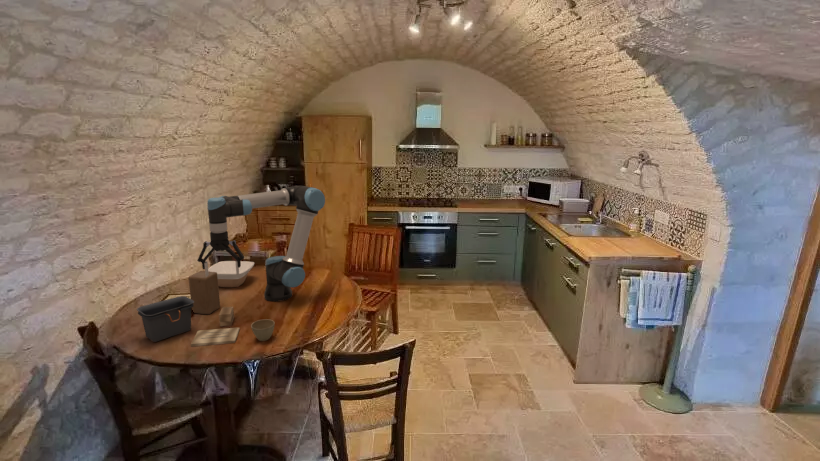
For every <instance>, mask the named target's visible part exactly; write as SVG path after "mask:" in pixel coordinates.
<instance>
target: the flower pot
mask: <svg viewBox="0 0 820 461" xmlns="http://www.w3.org/2000/svg"><path fill="white" fill-rule="evenodd" d="M250 327H251V330H252V332H253V334H254V336H255V337H256V339H257V340H258V341H260V342H265V341H268V340H270V338H271V337H272V335H273V333H274V330H275V321H274V320H272V319H270V318H269V319H267V318H266V319H258V320H256V321H254V322H252V323H251V325H250Z"/></svg>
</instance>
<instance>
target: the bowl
mask: <svg viewBox="0 0 820 461" xmlns="http://www.w3.org/2000/svg"><path fill="white" fill-rule="evenodd" d="M235 262H236V260H224V261H219V262H216V263H214V264H212V265H211V266H210V267H209V266H208V271H209V272H217V277H218V288H219V287H220V288H238V287H240V286H241V285H243V284H244V283H245V281H246V279H247V276H248V274H249V272H250V271H251V270H252V268H253V267H254V266H255V262H254V261H246V260H243V261H242V260H241V266H240V267H239V274H238V275H236V263H235Z"/></svg>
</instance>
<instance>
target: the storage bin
mask: <svg viewBox="0 0 820 461" xmlns="http://www.w3.org/2000/svg"><path fill="white" fill-rule="evenodd" d="M193 303H194V301H193V300H191V297H188V296H184V295H182V296H176V297H171V298H169V299H165V300H164V299H163V300H161V301H160V300H159V301H157V302H153V303H148V304H144V305H141V306H139V307H137V308H136V311H137V314H138V315H139V316H140V317H141V320H142V325H143V328H144V334H145V337H146V338H147V339H149V340H150V341H152V342H153V343H156V342H157V343H158V342H159V341H162V340H165V339H168V338H171V337H174V336H177V335H180V334H183V333H187V332H189V331H191V329H192V307H193V306H194V305H193Z"/></svg>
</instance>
